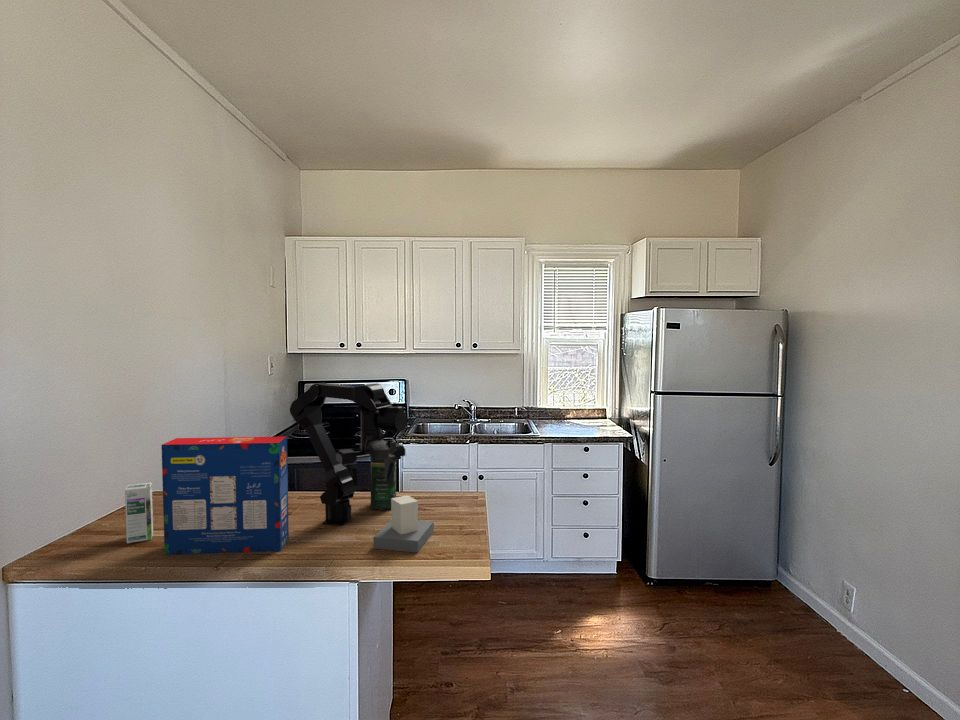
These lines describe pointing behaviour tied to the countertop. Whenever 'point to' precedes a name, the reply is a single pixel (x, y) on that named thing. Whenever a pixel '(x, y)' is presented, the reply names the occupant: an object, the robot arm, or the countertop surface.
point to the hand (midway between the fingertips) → (371, 483)
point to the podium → (403, 538)
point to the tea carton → (404, 514)
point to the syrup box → (139, 512)
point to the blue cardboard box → (225, 495)
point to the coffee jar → (382, 485)
